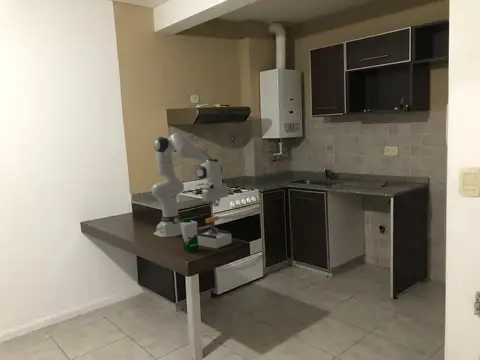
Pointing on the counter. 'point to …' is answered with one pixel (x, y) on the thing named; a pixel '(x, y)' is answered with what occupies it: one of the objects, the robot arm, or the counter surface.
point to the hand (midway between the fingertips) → (216, 206)
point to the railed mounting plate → (212, 235)
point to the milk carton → (189, 235)
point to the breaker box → (215, 243)
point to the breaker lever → (212, 223)
